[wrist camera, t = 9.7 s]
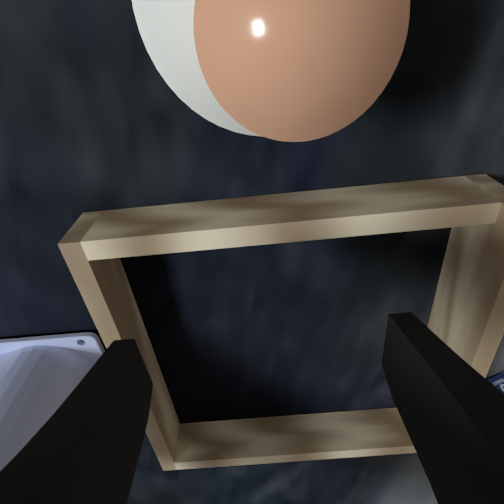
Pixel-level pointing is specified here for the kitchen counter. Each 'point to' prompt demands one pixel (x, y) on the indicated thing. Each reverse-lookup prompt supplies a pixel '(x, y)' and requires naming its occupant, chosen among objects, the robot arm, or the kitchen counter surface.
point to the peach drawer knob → (298, 60)
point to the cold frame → (293, 230)
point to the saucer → (180, 56)
